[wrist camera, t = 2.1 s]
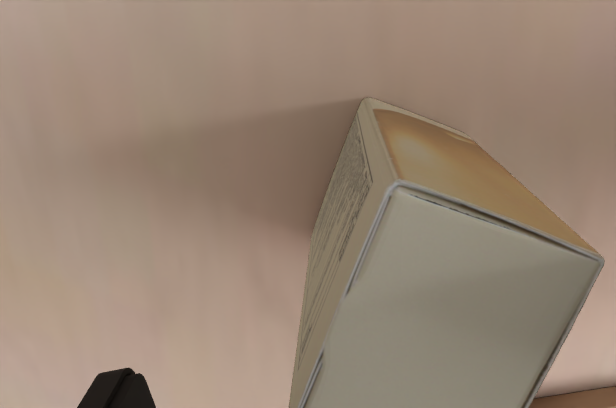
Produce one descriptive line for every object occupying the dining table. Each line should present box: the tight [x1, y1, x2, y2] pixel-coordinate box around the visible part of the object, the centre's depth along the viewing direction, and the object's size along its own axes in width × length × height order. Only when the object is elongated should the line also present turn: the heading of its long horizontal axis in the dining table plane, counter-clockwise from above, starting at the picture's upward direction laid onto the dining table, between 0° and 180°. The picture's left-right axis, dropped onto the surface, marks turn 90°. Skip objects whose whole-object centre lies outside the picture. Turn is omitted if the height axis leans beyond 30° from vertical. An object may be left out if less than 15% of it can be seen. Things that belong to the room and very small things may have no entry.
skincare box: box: [289, 98, 604, 408], centre depth 17 cm, size 6×4×12 cm
